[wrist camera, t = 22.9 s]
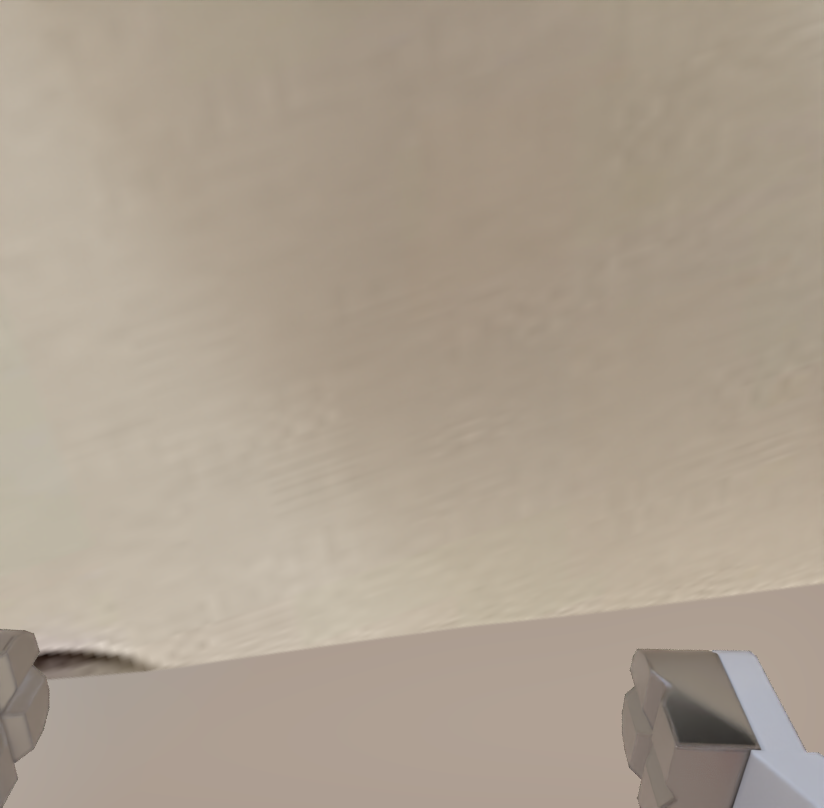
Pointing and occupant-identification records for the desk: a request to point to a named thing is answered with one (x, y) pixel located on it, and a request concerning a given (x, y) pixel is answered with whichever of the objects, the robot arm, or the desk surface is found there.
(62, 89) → the desk surface
